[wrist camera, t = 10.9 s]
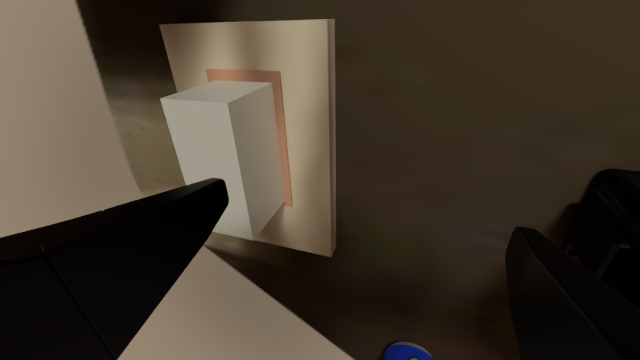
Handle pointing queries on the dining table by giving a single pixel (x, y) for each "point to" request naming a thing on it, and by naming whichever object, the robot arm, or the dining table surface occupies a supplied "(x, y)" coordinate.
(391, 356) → the beverage can
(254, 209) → the block
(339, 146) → the dining table surface
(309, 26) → the board
